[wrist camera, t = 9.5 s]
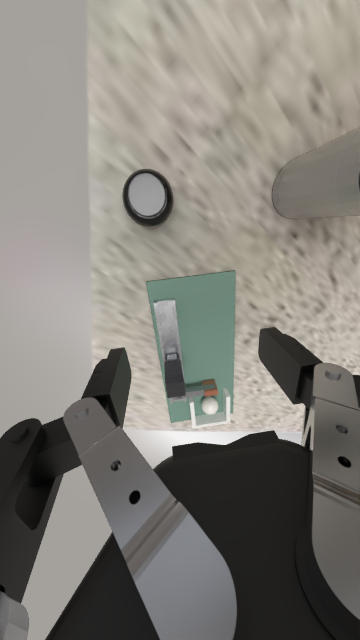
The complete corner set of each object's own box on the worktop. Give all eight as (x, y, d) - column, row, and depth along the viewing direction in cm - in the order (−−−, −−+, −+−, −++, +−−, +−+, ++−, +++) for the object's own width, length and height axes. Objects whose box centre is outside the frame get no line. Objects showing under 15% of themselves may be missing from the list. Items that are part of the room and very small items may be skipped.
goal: (226, 388, 54) (230, 396, 51) (226, 413, 58) (230, 422, 55) (188, 393, 53) (189, 402, 51) (191, 419, 58) (192, 428, 55)
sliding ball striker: (213, 345, 47) (225, 374, 38) (214, 384, 52) (225, 418, 43) (163, 352, 47) (164, 383, 38) (170, 391, 52) (172, 426, 43)
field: (234, 270, 41) (235, 271, 40) (232, 411, 59) (232, 413, 58) (146, 281, 40) (146, 282, 40) (170, 421, 58) (170, 422, 57)
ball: (215, 394, 56) (218, 396, 51) (218, 411, 55) (221, 414, 50) (199, 396, 56) (201, 398, 51) (202, 414, 54) (204, 417, 50)
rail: (174, 297, 42) (175, 300, 40) (186, 396, 54) (187, 401, 52) (153, 300, 41) (153, 303, 40) (169, 399, 54) (170, 404, 52)
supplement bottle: (177, 214, 36) (185, 209, 25) (144, 234, 36) (138, 238, 26) (157, 172, 33) (156, 146, 22) (121, 195, 34) (104, 181, 23)
